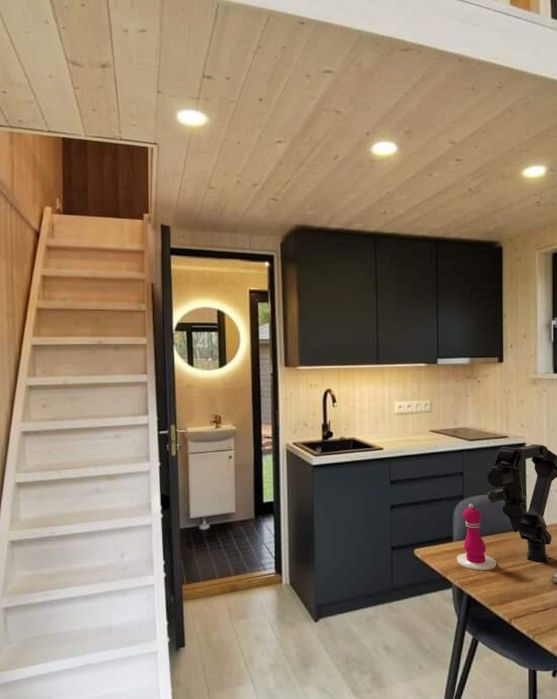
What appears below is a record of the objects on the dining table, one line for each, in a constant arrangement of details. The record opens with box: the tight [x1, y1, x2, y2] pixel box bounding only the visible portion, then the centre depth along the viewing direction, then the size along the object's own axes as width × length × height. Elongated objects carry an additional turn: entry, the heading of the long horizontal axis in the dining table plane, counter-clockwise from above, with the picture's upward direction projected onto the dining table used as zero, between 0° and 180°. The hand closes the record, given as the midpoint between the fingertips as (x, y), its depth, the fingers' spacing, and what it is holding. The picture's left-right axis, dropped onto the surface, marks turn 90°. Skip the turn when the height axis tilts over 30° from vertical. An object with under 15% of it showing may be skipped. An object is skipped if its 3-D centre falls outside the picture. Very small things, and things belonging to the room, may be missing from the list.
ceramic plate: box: [456, 552, 497, 571], centre depth 155 cm, size 13×13×1 cm
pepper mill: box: [462, 503, 487, 563], centre depth 156 cm, size 7×7×20 cm
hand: (516, 528), depth 152 cm, fingers open, 9 cm apart
